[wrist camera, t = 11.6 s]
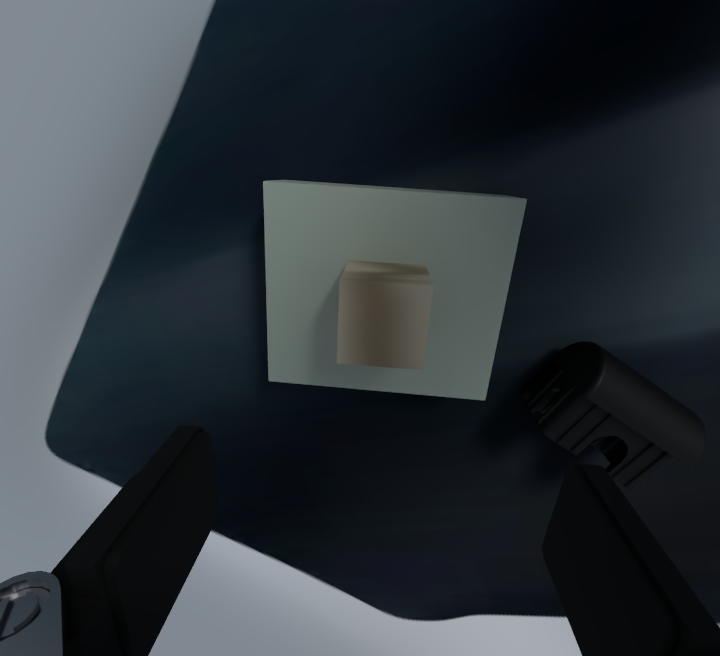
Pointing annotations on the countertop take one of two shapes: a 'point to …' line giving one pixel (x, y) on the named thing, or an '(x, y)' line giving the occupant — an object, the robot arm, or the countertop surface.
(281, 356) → the sage stand
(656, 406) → the end cap
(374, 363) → the maple cube
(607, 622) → the robot arm
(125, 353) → the countertop surface
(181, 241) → the countertop surface
